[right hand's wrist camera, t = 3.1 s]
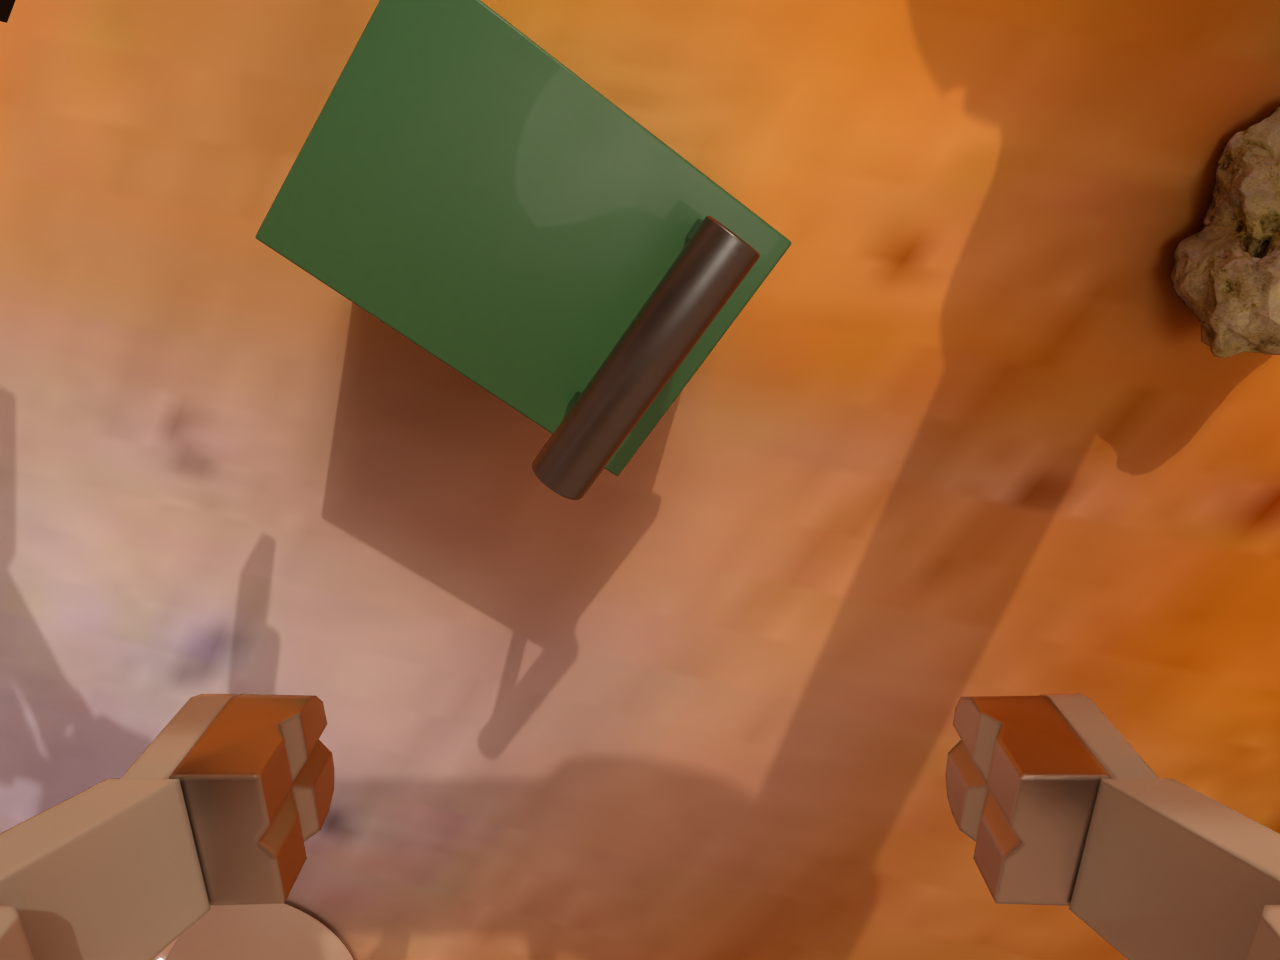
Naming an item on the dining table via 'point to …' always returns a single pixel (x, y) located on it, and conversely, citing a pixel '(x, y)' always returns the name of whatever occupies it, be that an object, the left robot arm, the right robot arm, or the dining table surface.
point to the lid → (519, 230)
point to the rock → (1238, 248)
